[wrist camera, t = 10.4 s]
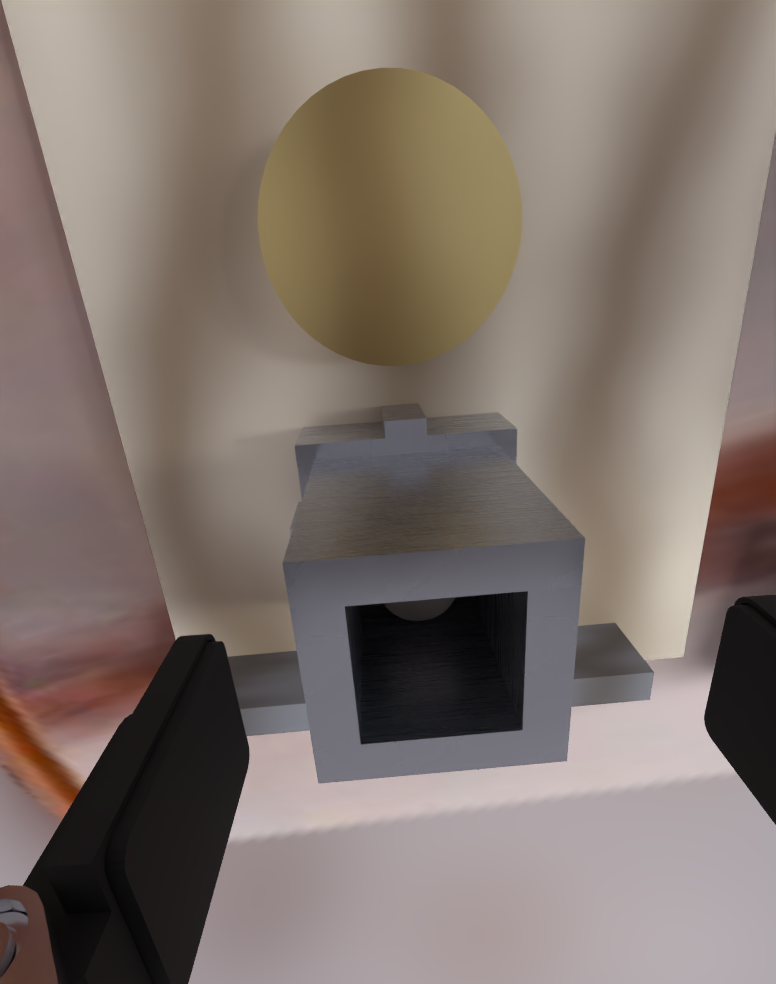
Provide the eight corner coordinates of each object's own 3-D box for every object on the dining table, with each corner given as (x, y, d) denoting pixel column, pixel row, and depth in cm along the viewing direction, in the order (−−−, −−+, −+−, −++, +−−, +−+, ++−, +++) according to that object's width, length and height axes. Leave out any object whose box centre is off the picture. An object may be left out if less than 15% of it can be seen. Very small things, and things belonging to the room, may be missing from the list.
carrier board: (779, -121, 13) (1137, -484, 7) (662, 634, 22) (778, 763, 16) (12, -72, 13) (-305, -408, 7) (203, 674, 21) (140, 822, 15)
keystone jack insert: (513, 395, 16) (647, 480, 9) (509, 591, 19) (608, 789, 11) (285, 413, 16) (214, 516, 8) (313, 607, 19) (278, 819, 11)
